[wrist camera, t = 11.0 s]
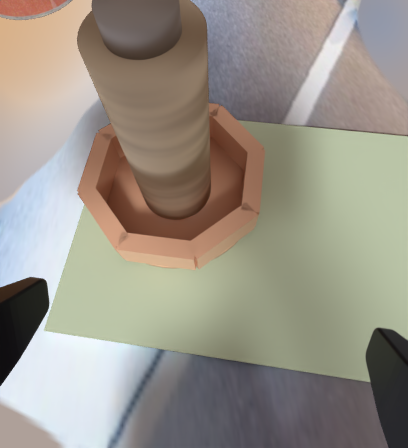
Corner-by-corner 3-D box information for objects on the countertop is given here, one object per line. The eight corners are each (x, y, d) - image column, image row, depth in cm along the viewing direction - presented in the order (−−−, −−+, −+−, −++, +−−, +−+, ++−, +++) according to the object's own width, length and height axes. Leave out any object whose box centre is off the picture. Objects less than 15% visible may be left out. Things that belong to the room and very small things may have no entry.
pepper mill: (206, 223, 24) (194, 56, 11) (136, 215, 24) (44, 45, 11) (215, 163, 26) (214, -39, 13) (150, 157, 26) (86, -46, 13)
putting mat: (485, 400, 20) (490, 401, 19) (46, 331, 22) (43, 330, 22) (443, 143, 27) (446, 140, 26) (116, 111, 29) (114, 108, 29)
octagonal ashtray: (249, 279, 22) (254, 268, 20) (78, 256, 23) (59, 242, 21) (263, 135, 27) (268, 108, 24) (120, 120, 28) (109, 93, 25)
